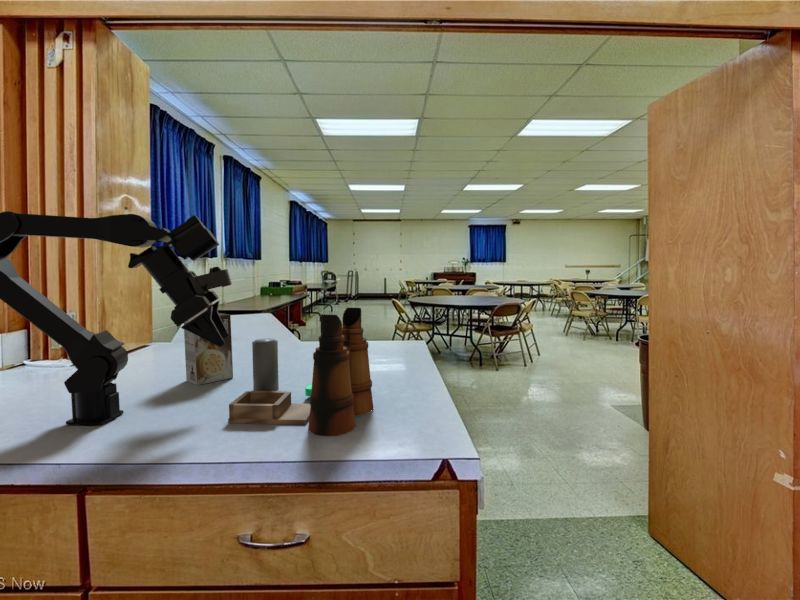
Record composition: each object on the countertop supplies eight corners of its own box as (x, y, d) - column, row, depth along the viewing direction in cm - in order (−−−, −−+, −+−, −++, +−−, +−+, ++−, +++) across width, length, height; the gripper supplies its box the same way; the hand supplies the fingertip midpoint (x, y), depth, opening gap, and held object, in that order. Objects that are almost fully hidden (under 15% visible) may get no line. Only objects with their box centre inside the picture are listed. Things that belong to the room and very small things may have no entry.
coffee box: (221, 373, 113) (220, 312, 112) (233, 378, 109) (232, 314, 108) (185, 380, 106) (182, 315, 105) (196, 385, 102) (193, 317, 101)
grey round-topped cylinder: (249, 404, 89) (248, 342, 88) (258, 396, 94) (257, 337, 93) (274, 404, 89) (273, 342, 87) (282, 397, 94) (281, 338, 93)
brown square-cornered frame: (228, 423, 78) (227, 405, 78) (247, 406, 87) (246, 390, 87) (305, 424, 78) (305, 406, 78) (316, 407, 87) (316, 391, 87)
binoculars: (341, 400, 92) (341, 305, 90) (379, 404, 89) (379, 306, 88) (299, 433, 74) (297, 315, 72) (344, 438, 72) (343, 317, 70)
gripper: (203, 249, 74) (259, 323, 78) (215, 252, 92) (260, 311, 96) (144, 287, 72) (204, 361, 76) (167, 282, 90) (216, 342, 94)
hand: (224, 341), depth 85 cm, fingers open, 9 cm apart
